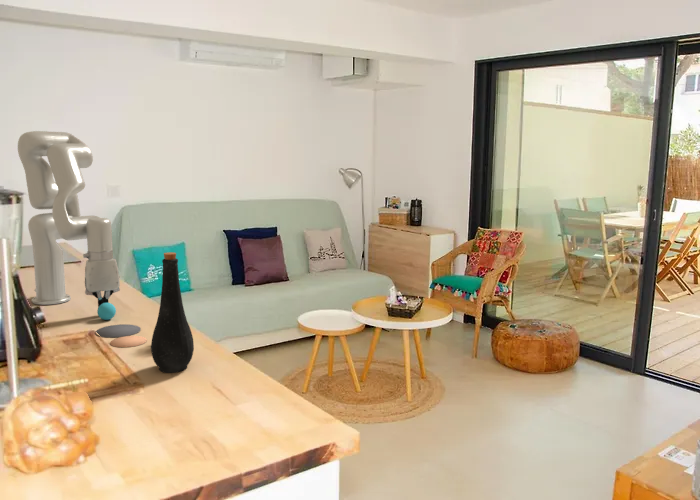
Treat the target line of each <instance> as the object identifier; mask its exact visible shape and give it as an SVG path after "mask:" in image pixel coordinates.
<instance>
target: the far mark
mask: <svg viewBox="0 0 700 500" xmlns="http://www.w3.org/2000/svg"><path fill="white" fill-rule="evenodd" d="M147 341H148V339H147V338H146V337H144V336H140V335H130V336H125V337H117V338H114V339H112V340H111V341H110V342H109V344H110V345H111V346H112V347H115V348H132V347H133V348H134V347H138V346H141V345H143V344H145V343H147Z"/></svg>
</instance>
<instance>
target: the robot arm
mask: <svg viewBox="0 0 700 500" xmlns="http://www.w3.org/2000/svg"><path fill="white" fill-rule="evenodd" d="M17 153H18V156H19V159H20V162H21V164H22V166H23V170H24V173H25V180H26V182H25V183H26V186H27V195H28V200H29V203H30V206H31V207H32V208H33V209H35V210H52V211H51V212H47V213H45V212H44V213H39V214H35V215H33V216H32V217H31V218H30V219H29V220H28V225H27V227H28V232H29V237H30V240H31V244H32V245H31V246H32V253H33V254H32V255H33V267H34V281H35V282H34V283H35V284H34V285H35V288H34V290H33V291H34V292H35V296H34V297H32V298H31V303H32V304H34V305H38V306H39V305H40V306H41V305H44V306H47V305H57V304H62V303H66V302H69V301H70V300H71V295H70V294H68V293H66V292H67V291H66V279H65V278H66V277H65V276H66V275H65V262H64V261H65V260H64V252H63V251H64V250H63V249H62V247H61V245H59V244H58V243H57V241H56V240H61V239H63V240H65V241H77V240H85V239H86V240H87V241H86V243H87V244H86V245H87V251H86V252H85V253H83V254H82V256H83V258H84V259H87V260H86V262H85V267H84V268H85V269H84V270H85V271H84V287H85V291H84V294H85V295H87V296H93V297H95V298H96V299H97V308H98V307H99V306H100V305H101V304H103V303H109V299H110V297H111V296H112V295H113V294H115V293H118V292H120V290H121V289H120V286H121V285H120V284H121V283H120V276H119V268H118V263H117V259H116V258H114V252H113V251H114V250H113V233H112V231H113V230H112V229H113V228H112V221H111V219H109V218H107V217H106V218H105V217H99V216H97V215H81V210H80V203H79V198H78V193H80V192H82V191H83V190H84V189H85V187H86V183H85V179H84V177H83V175H82V171H81V169H87V168H90V167H91V166H92V163H93V161H94V159H93V158H94V156H93V153H92V150H91V149H90V147H89V146H88V145H87V144H86V143H85V142H83V141H82V140H80V139H79V138H78V137H76V136H75V135H73V134H72V133H68V132H67V131H66V132H64V131H47V130H42V131H41V130H35V131H34V130H32V131H27V132H24V133H22V134H21V135H20V136H19V138H18V141H17ZM43 157H47V161H46V159H44V158H43ZM102 292H103V296H102Z"/></svg>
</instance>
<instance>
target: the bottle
mask: <svg viewBox="0 0 700 500" xmlns="http://www.w3.org/2000/svg"><path fill="white" fill-rule="evenodd" d="M161 263H162V280H161V281H162V283H161V295H160V301H159V302H160V303H159V310H158V314H157V315H158V317H157V320H156V324H155V326H154V330H153V334H152V337H151V344H150V352H151V356H152V360H153V362H154V364H155V365H156V366H157V367H158V371H159V372H162V373H164V374H165V373H166V374H175V373H180V372H184V371H186V370H187V369H188V365H189V364H190V363H191V360H192V358H193V355H194V349H195V345H194V343H195V342H194V336H193V333H192V330H191V327H190V324H189V322H188V319H187V316H186V312H185V309H184V304H183V297H182V293H181V292H182V291H181V285H180V277H179V275H180V274H179V265H178V264H179V259H178V258H177V253H176V252H174V251H173V252H171V251H169V252H163V259H162V260H161Z"/></svg>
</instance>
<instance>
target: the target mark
mask: <svg viewBox="0 0 700 500" xmlns="http://www.w3.org/2000/svg"><path fill="white" fill-rule="evenodd" d="M141 331H142V330H141V327H140V326H138V325H135V324H127V323H125V324H111V325H106V326H103V327H100V328H98V329H97V330H95V332H97V333H98V334H99V335H100V336H101V337H102V338H108V339H109V338H110V339H113V338H114V339H116V338H119V337H125V336H135V334H136V335H137V334H138V333H140V332H141ZM100 336H99V337H100ZM101 337H100V338H101Z"/></svg>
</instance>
